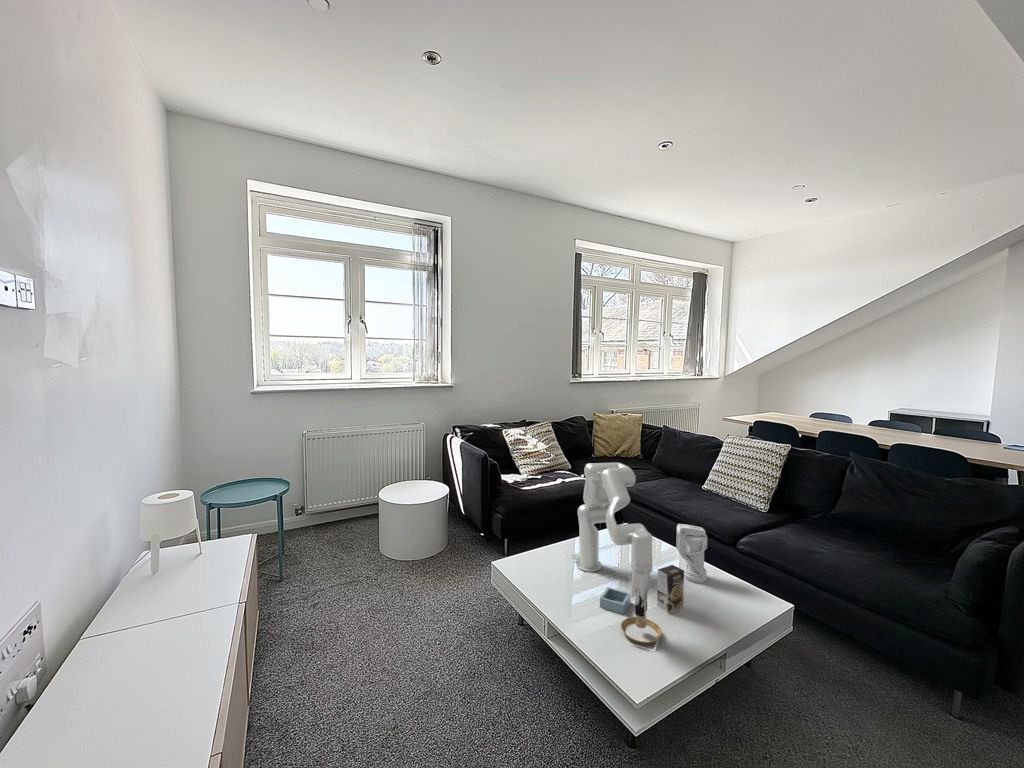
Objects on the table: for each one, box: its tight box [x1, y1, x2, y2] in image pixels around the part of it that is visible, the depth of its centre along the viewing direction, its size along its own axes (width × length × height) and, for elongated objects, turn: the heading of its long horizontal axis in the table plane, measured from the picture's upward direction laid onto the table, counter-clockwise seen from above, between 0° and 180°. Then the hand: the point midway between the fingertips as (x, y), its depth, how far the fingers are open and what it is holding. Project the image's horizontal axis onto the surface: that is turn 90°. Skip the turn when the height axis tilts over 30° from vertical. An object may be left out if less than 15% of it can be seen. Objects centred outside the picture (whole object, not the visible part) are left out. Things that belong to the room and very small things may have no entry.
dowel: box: [635, 596, 647, 629], centre depth 156 cm, size 4×4×12 cm
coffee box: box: [656, 564, 685, 614], centre depth 174 cm, size 9×6×16 cm
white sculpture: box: [676, 523, 708, 584], centre depth 197 cm, size 13×10×25 cm
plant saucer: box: [620, 616, 663, 645], centre depth 157 cm, size 15×15×3 cm
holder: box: [599, 586, 632, 615], centre depth 175 cm, size 10×10×4 cm
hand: (641, 612), depth 156 cm, fingers closed on dowel, 3 cm apart
